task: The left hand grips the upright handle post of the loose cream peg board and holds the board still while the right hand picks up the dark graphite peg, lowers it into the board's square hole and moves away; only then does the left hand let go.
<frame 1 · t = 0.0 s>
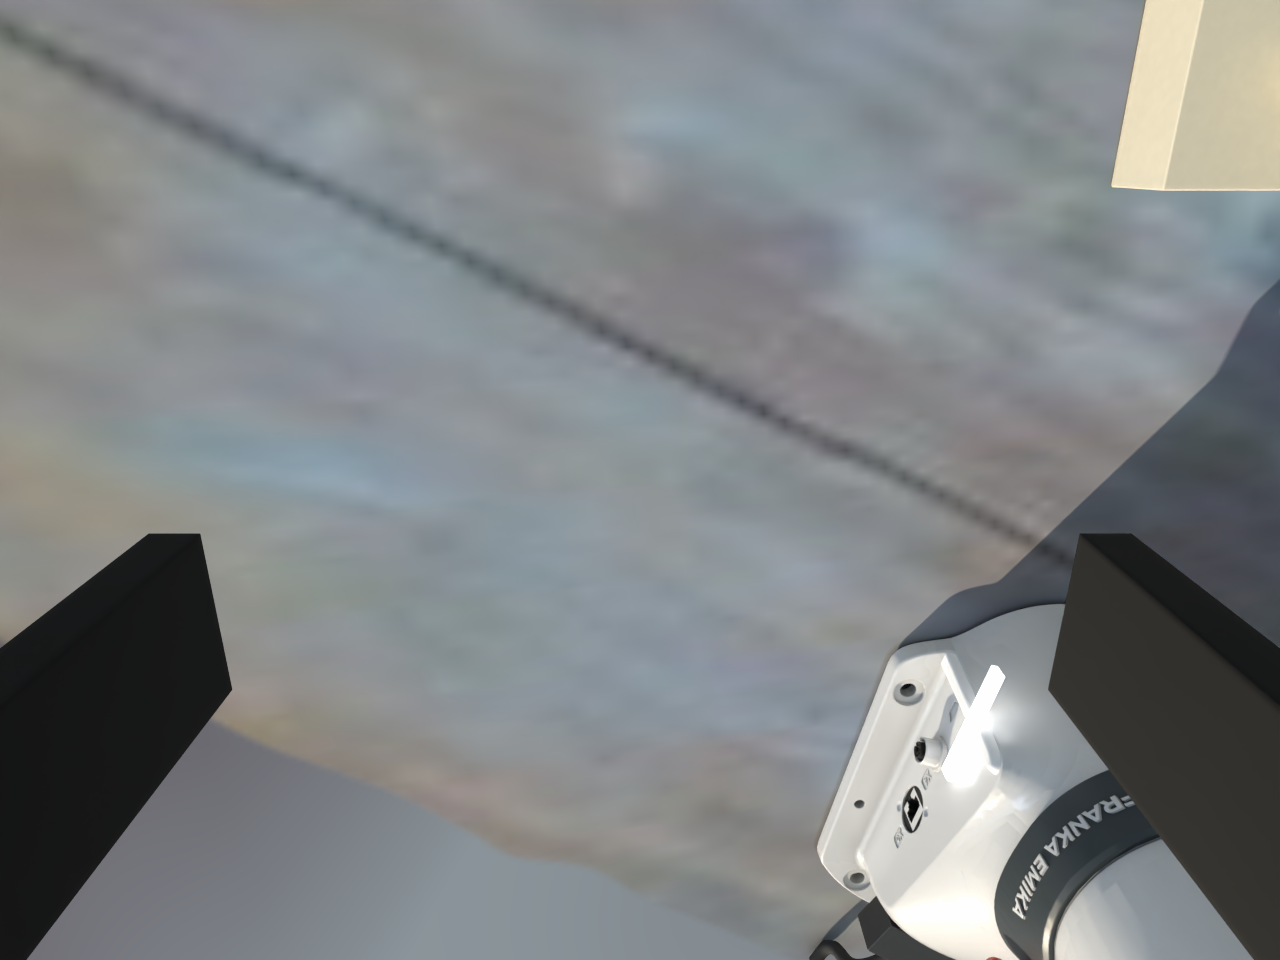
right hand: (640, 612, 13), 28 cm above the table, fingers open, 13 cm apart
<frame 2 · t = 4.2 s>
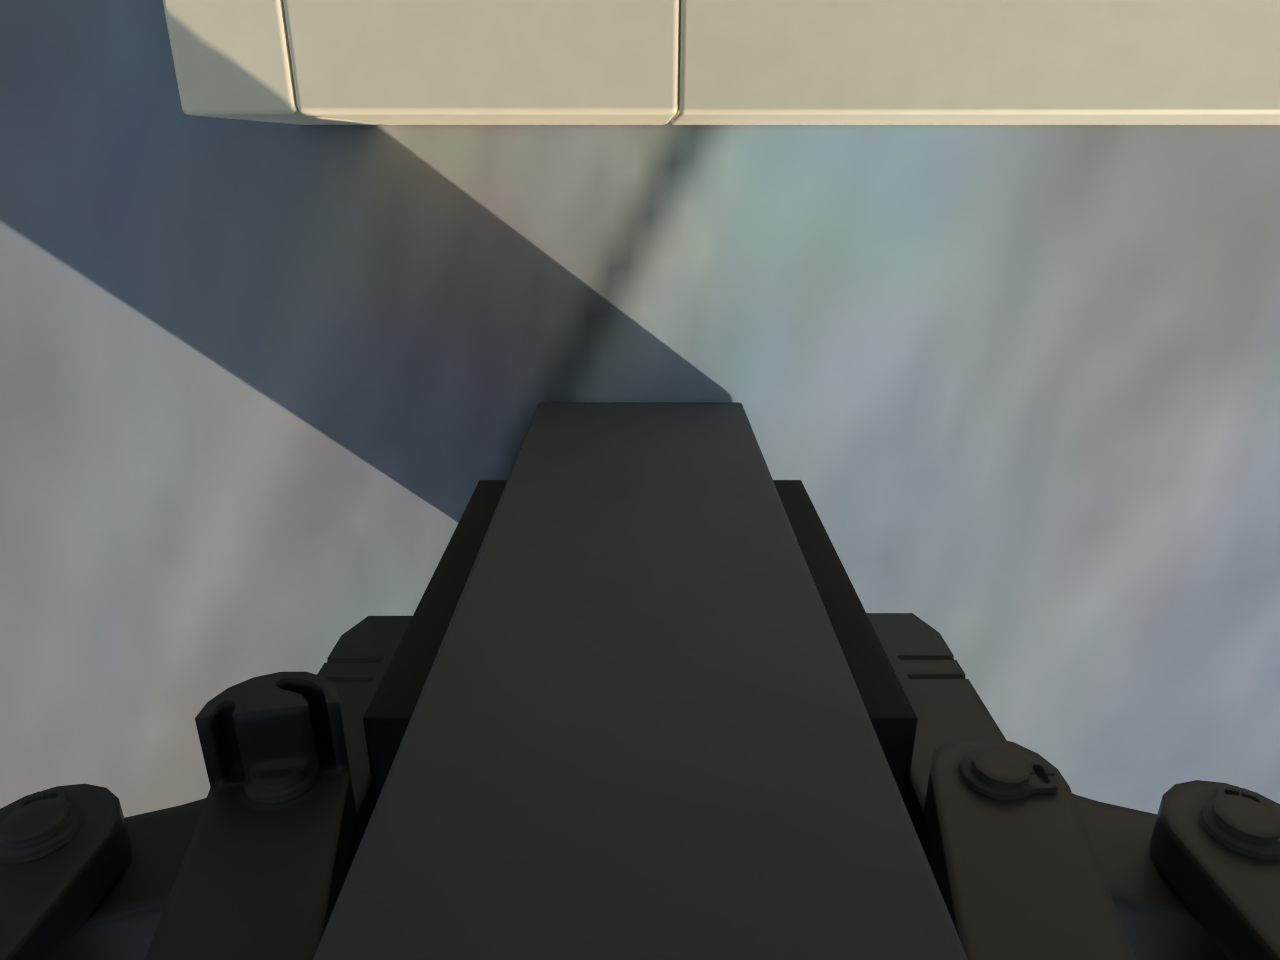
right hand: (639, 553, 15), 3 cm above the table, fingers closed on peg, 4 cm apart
peg: (640, 496, 17), on the table, touching right hand
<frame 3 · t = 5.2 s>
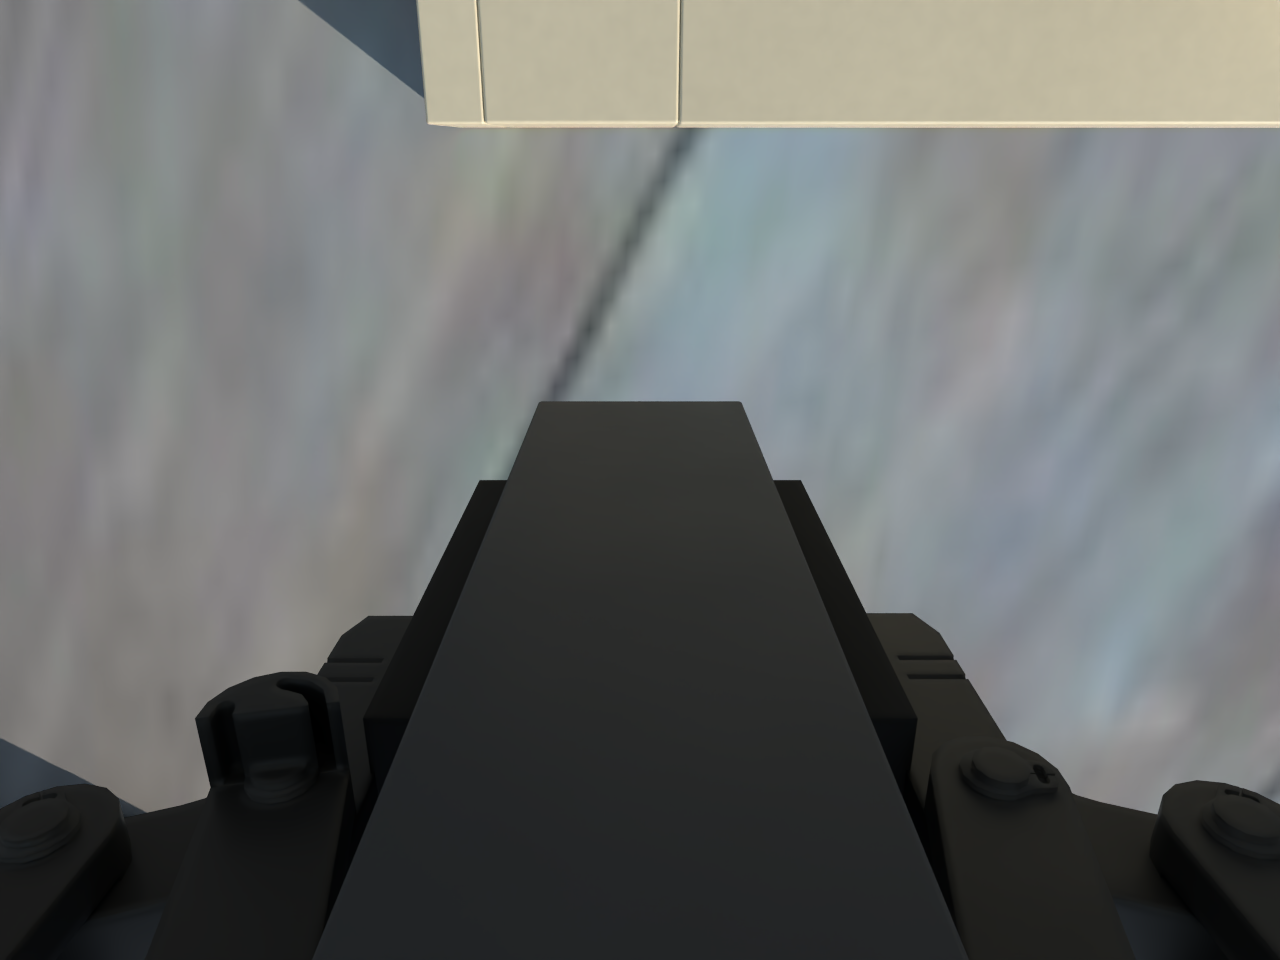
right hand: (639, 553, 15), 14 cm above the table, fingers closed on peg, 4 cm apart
peg: (640, 494, 17), point 11 cm above the table, touching right hand
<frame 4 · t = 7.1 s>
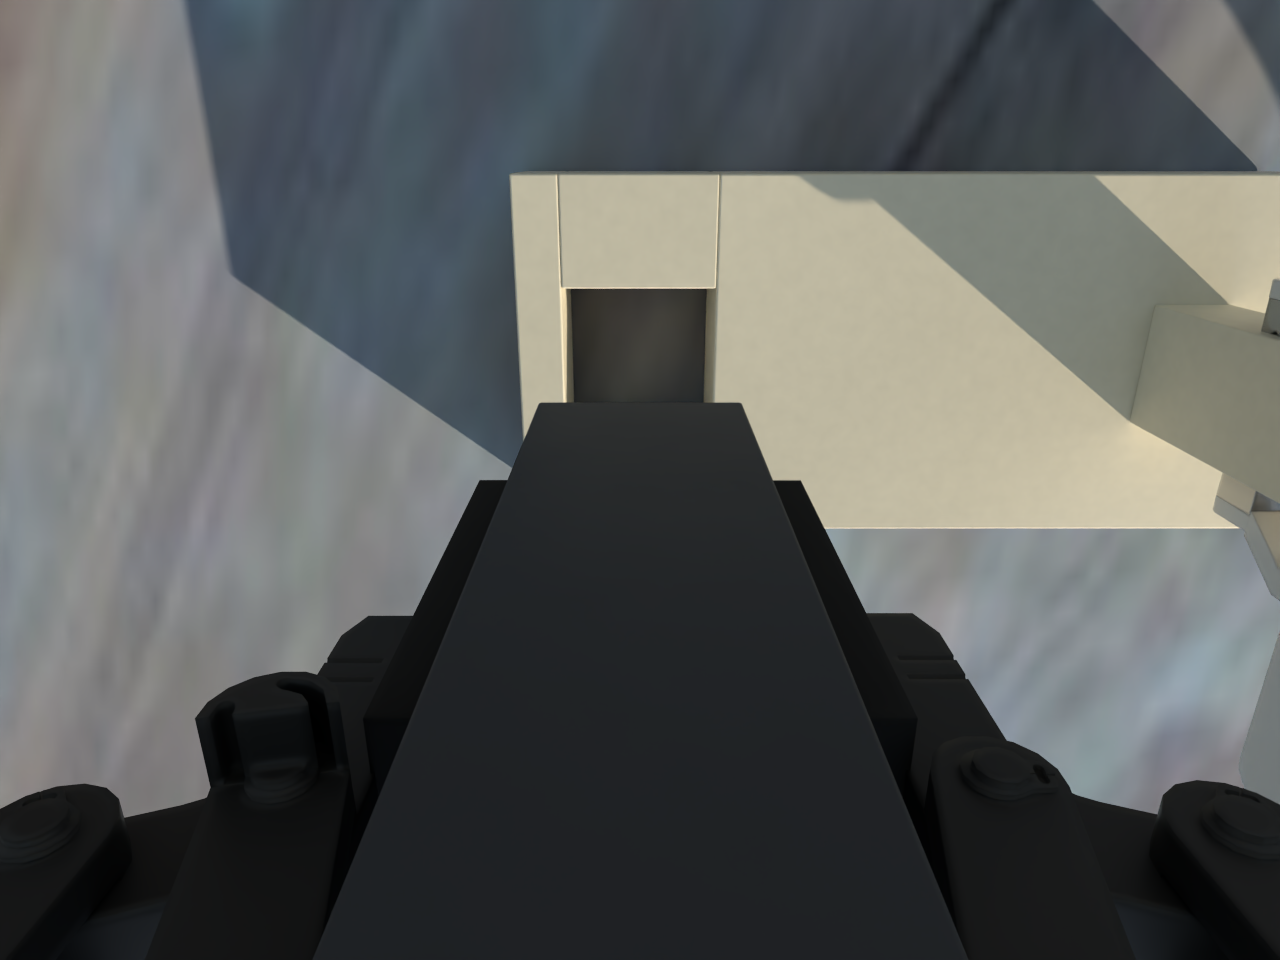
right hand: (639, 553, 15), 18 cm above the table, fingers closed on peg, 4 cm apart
peg board: (877, 340, 32), on the table, touching left hand
peg: (640, 496, 17), point 16 cm above the table, touching right hand
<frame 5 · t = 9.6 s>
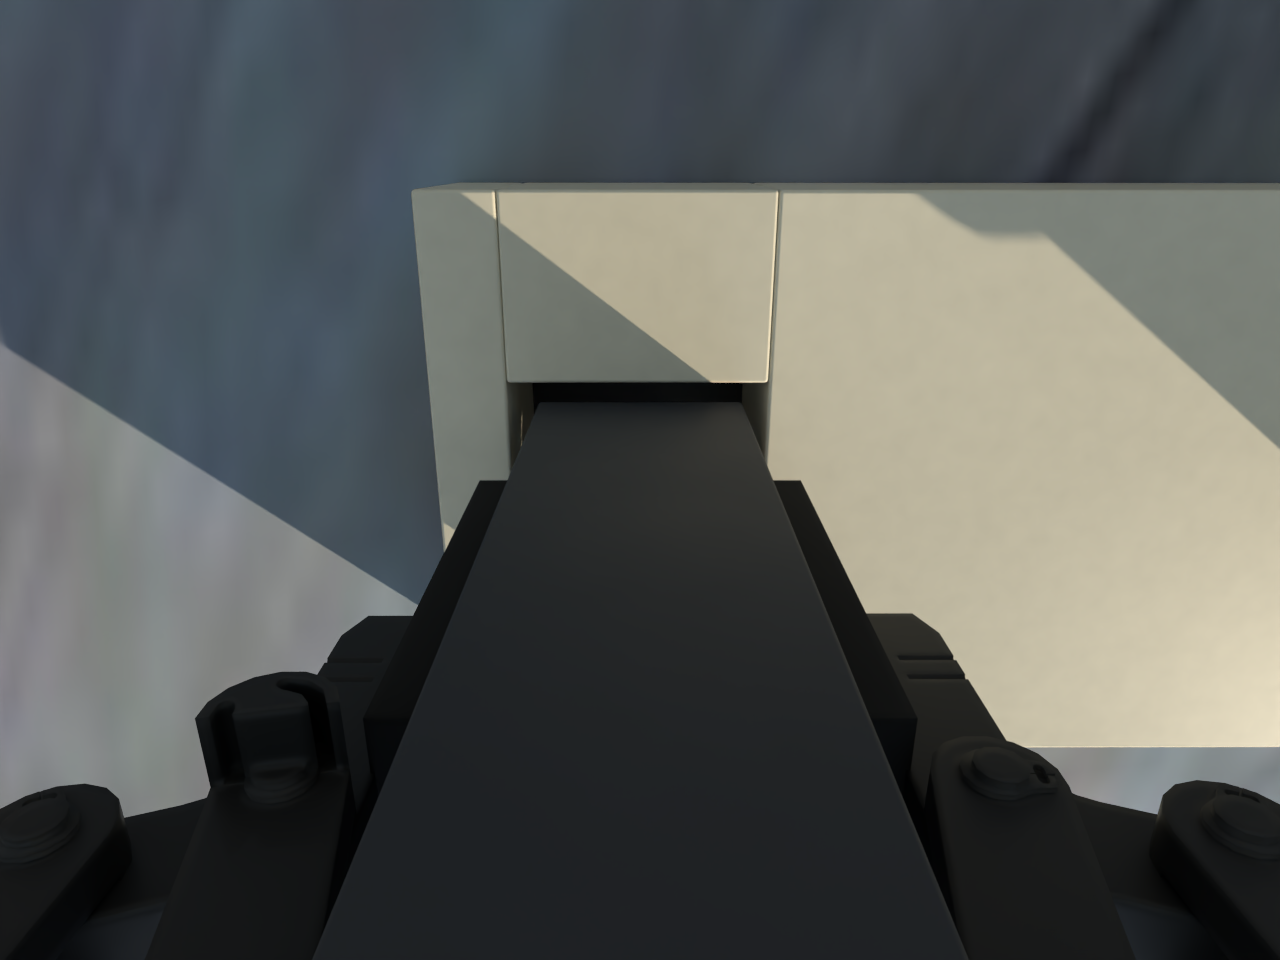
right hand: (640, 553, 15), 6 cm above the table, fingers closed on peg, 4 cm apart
peg board: (1004, 441, 21), on the table, touching left hand
peg: (640, 495, 17), point 4 cm above the table, touching right hand
when the right hand's fingers open (6 cm above the table, at t = 10.5 s): peg drops 3 cm, resting in peg board.
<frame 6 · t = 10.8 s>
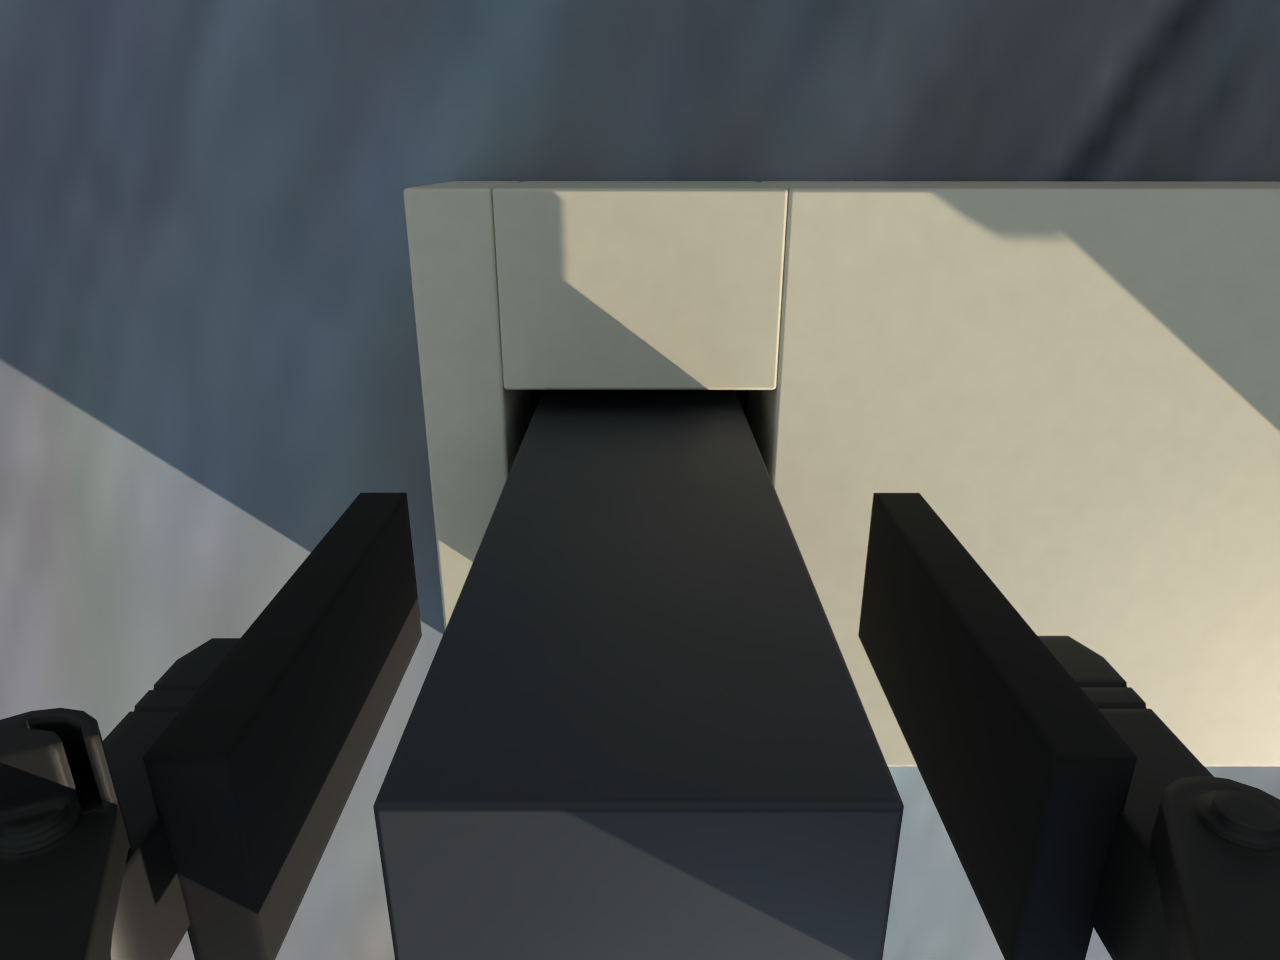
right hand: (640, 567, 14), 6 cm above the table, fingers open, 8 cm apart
peg board: (1018, 449, 20), on the table, touching left hand
peg: (638, 448, 20), resting in peg board
when the left hand's fingers open (8 cm above the table, at t = 13.8 s): peg board stays where it is, on the table.
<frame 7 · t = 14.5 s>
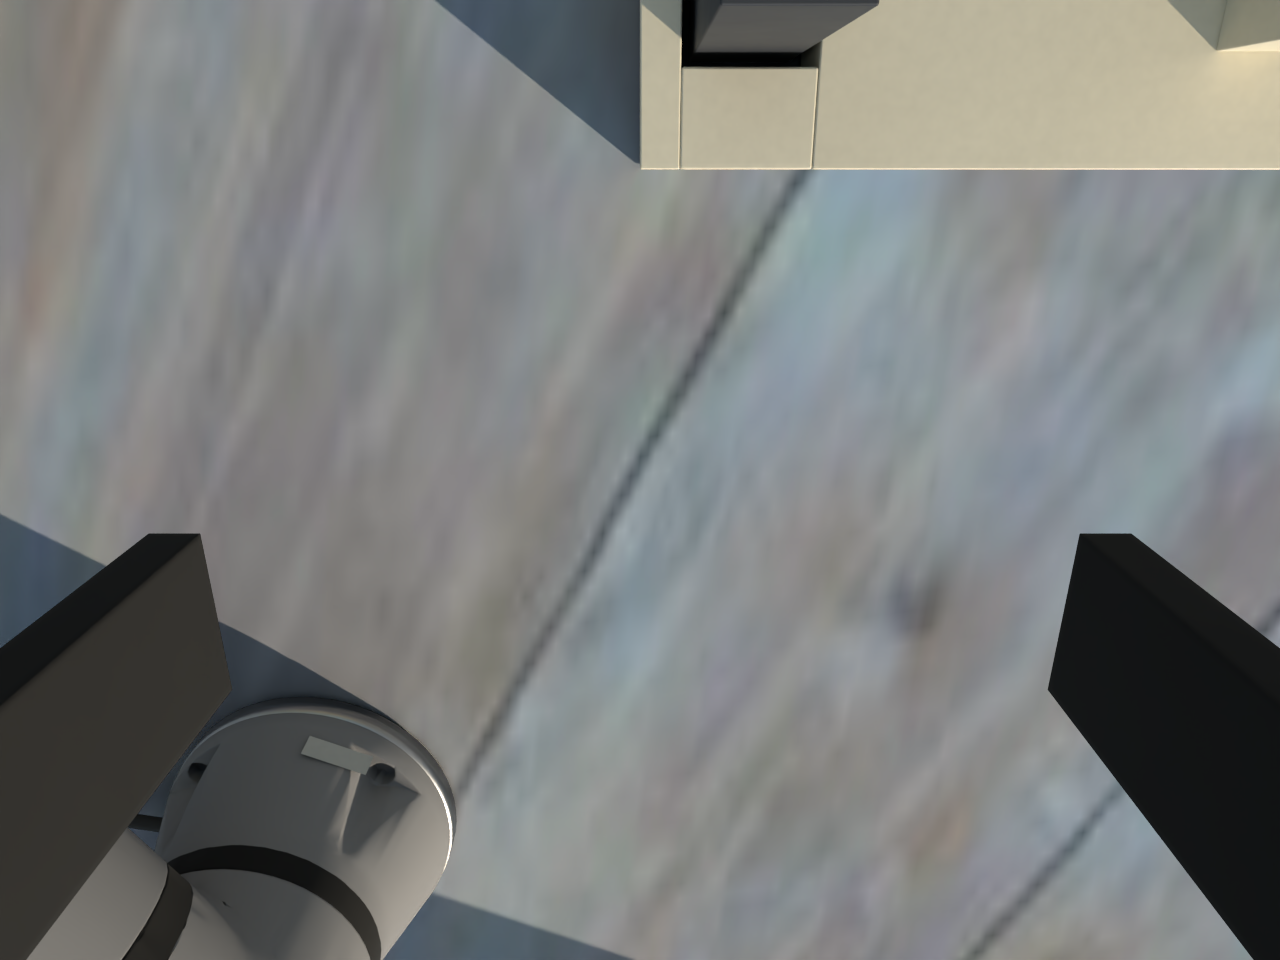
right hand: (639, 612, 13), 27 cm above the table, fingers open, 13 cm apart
peg board: (967, 6, 33), on the table
peg: (740, 6, 33), resting in peg board
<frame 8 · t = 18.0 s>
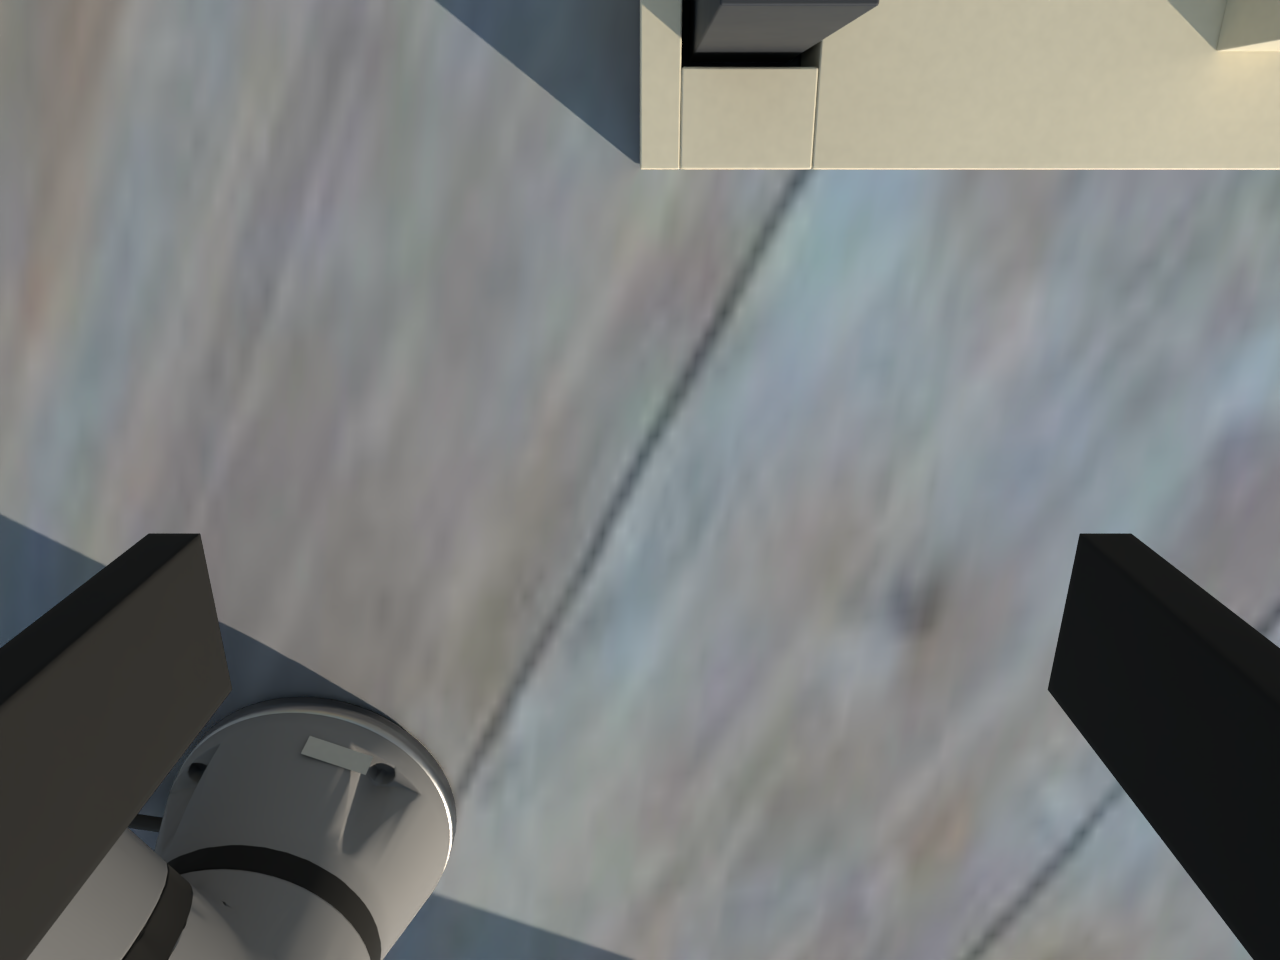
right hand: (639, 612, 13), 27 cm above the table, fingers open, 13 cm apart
peg board: (967, 6, 33), on the table
peg: (740, 6, 33), resting in peg board
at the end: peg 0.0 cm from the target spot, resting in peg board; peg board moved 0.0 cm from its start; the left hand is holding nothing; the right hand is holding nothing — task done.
